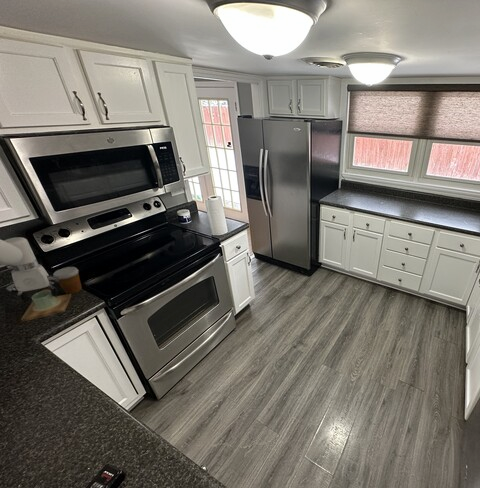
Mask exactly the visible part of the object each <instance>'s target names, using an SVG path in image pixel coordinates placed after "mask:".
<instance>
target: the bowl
mask: <svg viewBox="0 0 480 488" xmlns="http://www.w3.org/2000/svg"><path fill="white" fill-rule="evenodd" d="M55 297H56V296H53V295H52V293H51V291H50V288H46V289H45V288H44V289H42V290H41V291H39V292H36V293H34V294H32V295H31V297H30V299H31V302H33V303H34V304H35V306H34V307H33V308H32V310H33V311H34V312H43V311H47V310H50V309H52V308H54V307H56V306H58V305H59V304H60V303H61V300H60V299H59V298H55Z"/></svg>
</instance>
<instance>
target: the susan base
mask: <svg viewBox="0 0 480 488" xmlns="http://www.w3.org/2000/svg"><path fill="white" fill-rule="evenodd" d="M55 298H59V299H60V300H61V303H60V304H59V305H58V306H56V307H54V308H52V309H50V310H47V311H43V312H34V311H33V310H32V308H33V307H34V306H35V304H34V303H33V301H31V303H30V305H29V306H28V308H27V309H26V310H25V312H24V314H23V315H22V316H21V318H20V321H21V322H22V323H24V322H28V321H32V320H36V319H40V318H44V317H51V316H53V315H57V314H62V313H65V311H66V309H67V307H68V305H69V303H70V301H71V298H72V294H66V293H65V294H62V295H56V296H55Z"/></svg>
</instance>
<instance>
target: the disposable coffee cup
mask: <svg viewBox="0 0 480 488" xmlns="http://www.w3.org/2000/svg"><path fill="white" fill-rule="evenodd" d="M52 276H54V277H60V281H59V283H58V285H59V286H60V287H61V288H62V290H63V291H64V292H65V295H66V294H71V295H74V294H77V293H79V292H80V291H82V289H83V287H82V283H81V279H80V275H79V269H78V268H77V267H75V266H67V267H63V268H61V269H57V270H55V271H54V272H53V275H52Z"/></svg>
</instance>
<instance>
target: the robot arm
mask: <svg viewBox="0 0 480 488" xmlns="http://www.w3.org/2000/svg"><path fill="white" fill-rule="evenodd" d="M0 266H6V268H7V269H12V270H11V271H10V272H11V278H12V281H13V282H12V283H11V284H9V285H7V286H6V288H5V289H6V290H7V291H9V292H11V293H12V294H15V295H16V296H19V297H20V299H21V301H23V303H27V302H28V301H29V300H30V297H29V295H28V293H27V292H30V291H35V290H40V289H45V288H48V289H49V290H50V291H51V293H52V295H53V296H55V297H57V296H58V294H59V291H58V288H57V286H58V285H59V281H60V277H54V276H53V275H49V273H48V272H47V270H46V269H45V268H44V266H42V264H39V262H38V260H37V258H36V256H35V254H34V252H33V249H32V247H31V245H30V243H29V241H28V239H27V238H25V237H20V236H19V237H18V236H17V237H11V238H7V239H5V240H3V239H0ZM52 281H54V282H52Z"/></svg>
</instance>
